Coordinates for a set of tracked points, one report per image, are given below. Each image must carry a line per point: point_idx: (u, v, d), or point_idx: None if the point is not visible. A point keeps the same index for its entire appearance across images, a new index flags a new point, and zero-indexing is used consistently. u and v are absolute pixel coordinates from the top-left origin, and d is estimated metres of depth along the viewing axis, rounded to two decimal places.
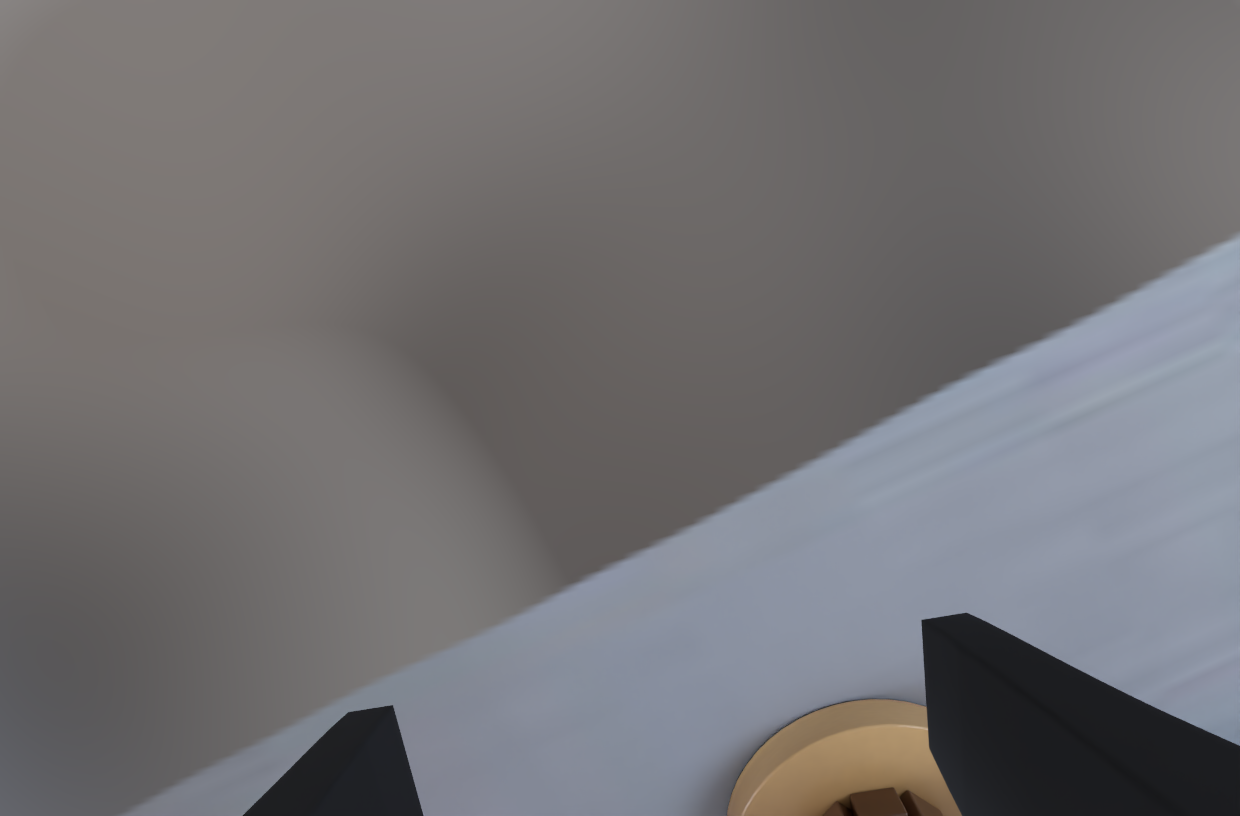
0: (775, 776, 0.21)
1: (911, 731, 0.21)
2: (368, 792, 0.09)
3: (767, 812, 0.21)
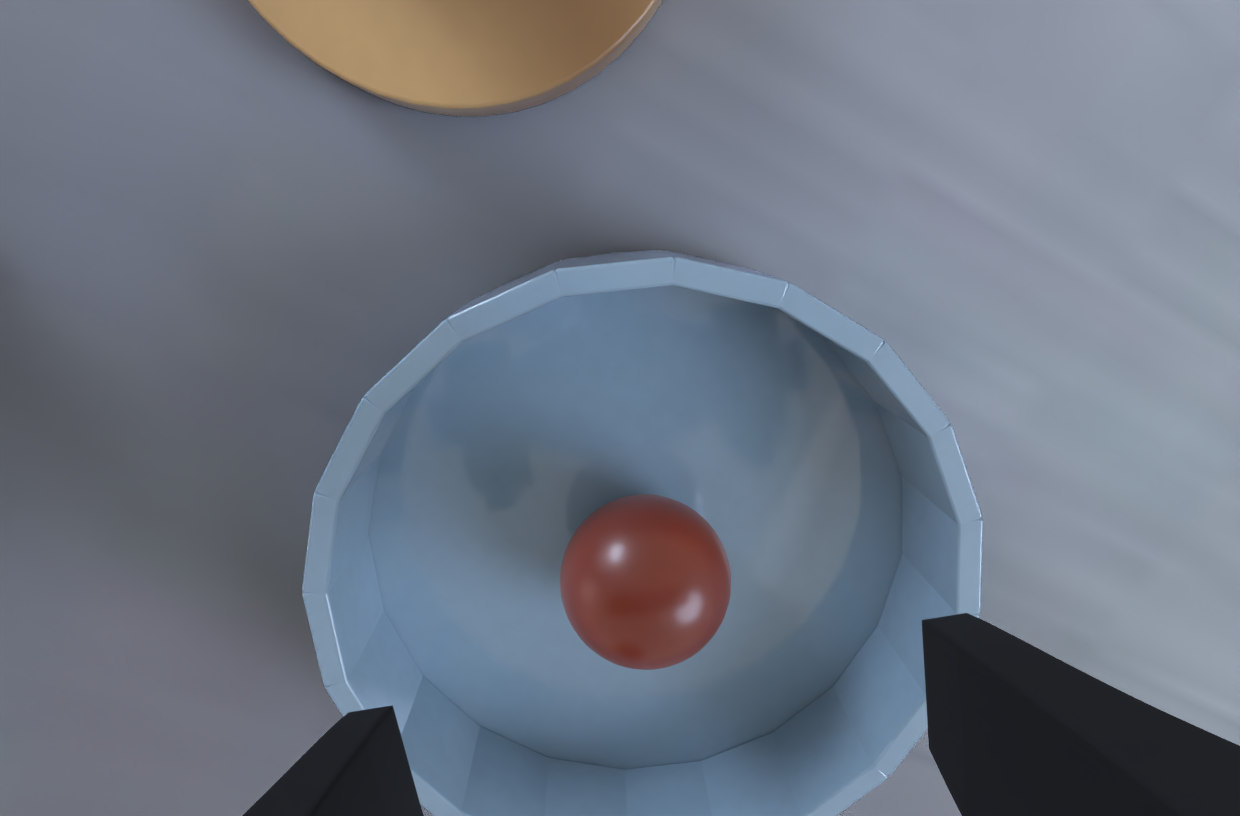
0: None
1: None
2: (368, 791, 0.09)
3: None
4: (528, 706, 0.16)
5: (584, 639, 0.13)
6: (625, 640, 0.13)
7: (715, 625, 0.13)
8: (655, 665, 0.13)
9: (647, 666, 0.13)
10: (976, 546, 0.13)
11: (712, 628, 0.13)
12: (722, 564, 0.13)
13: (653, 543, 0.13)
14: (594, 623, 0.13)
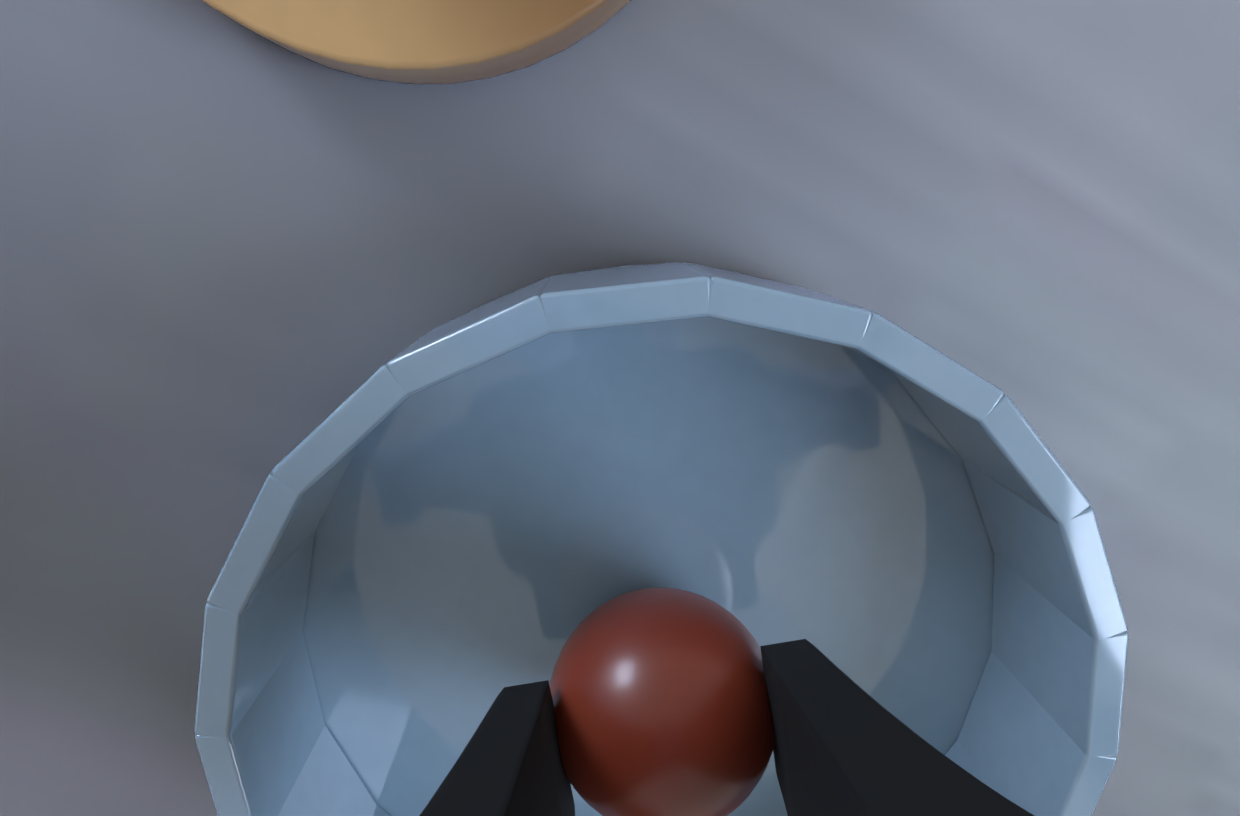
0: None
1: None
2: (544, 763, 0.09)
3: None
4: None
5: (580, 794, 0.10)
6: (637, 807, 0.09)
7: (759, 777, 0.10)
8: None
9: None
10: (1118, 669, 0.10)
11: (754, 782, 0.10)
12: (767, 692, 0.10)
13: (675, 672, 0.09)
14: (593, 780, 0.09)
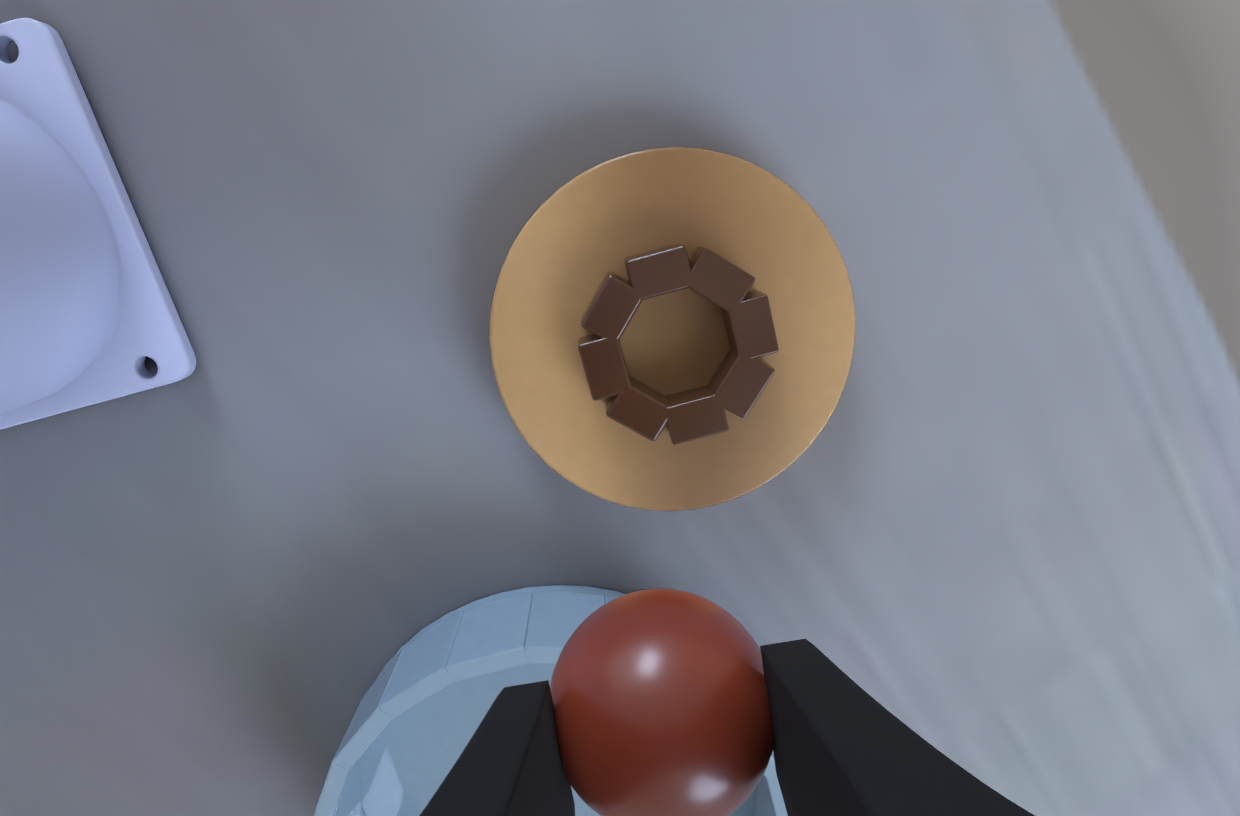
0: (781, 187, 0.16)
1: (847, 349, 0.17)
2: (544, 764, 0.09)
3: (724, 185, 0.16)
4: None
5: (580, 796, 0.10)
6: (637, 808, 0.09)
7: (759, 778, 0.10)
8: None
9: None
10: None
11: (755, 783, 0.10)
12: None
13: (676, 673, 0.09)
14: (594, 782, 0.09)
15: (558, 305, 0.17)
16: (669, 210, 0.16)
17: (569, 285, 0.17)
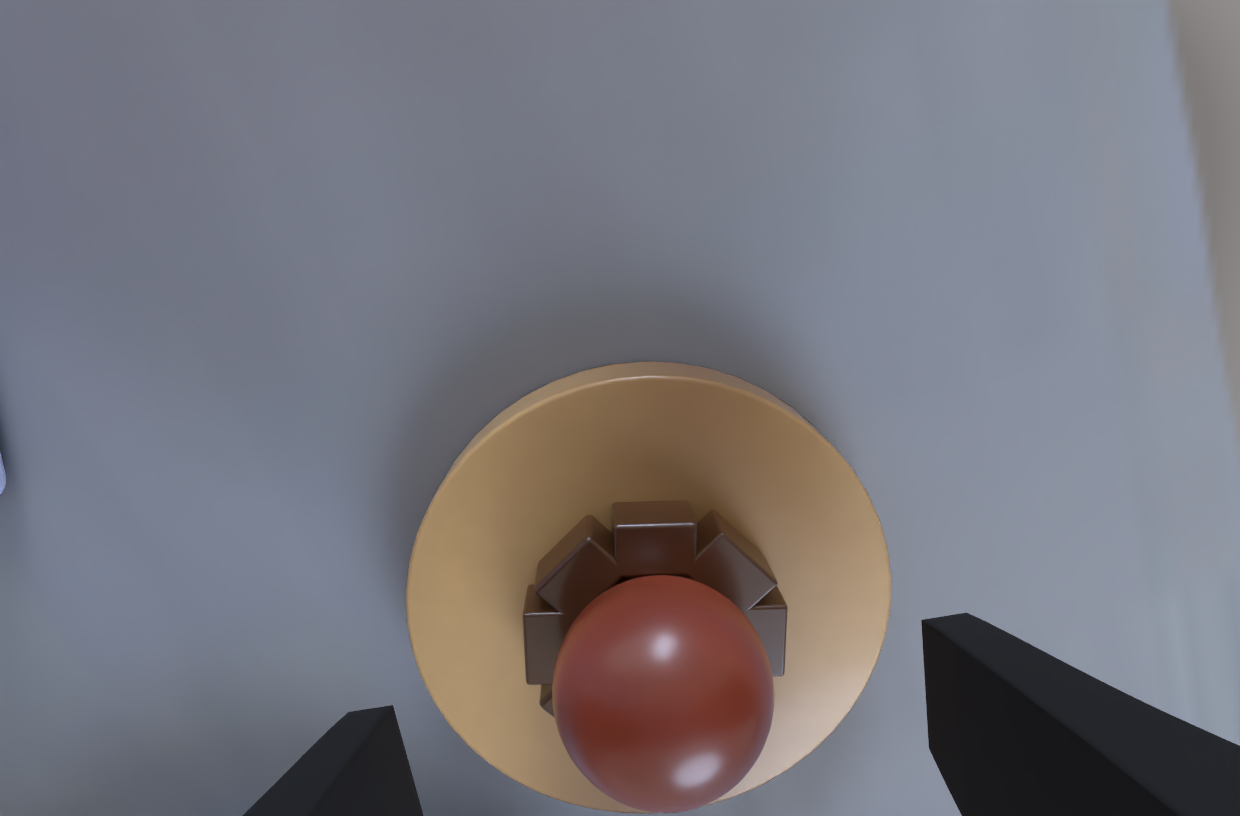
0: (836, 462, 0.12)
1: (865, 668, 0.13)
2: (368, 792, 0.09)
3: (765, 443, 0.12)
4: None
5: (584, 773, 0.10)
6: (638, 782, 0.09)
7: (756, 755, 0.10)
8: (678, 810, 0.10)
9: (667, 811, 0.10)
10: None
11: (752, 760, 0.10)
12: (764, 673, 0.10)
13: (676, 653, 0.10)
14: (598, 757, 0.10)
15: (511, 539, 0.12)
16: (685, 457, 0.12)
17: (532, 518, 0.12)
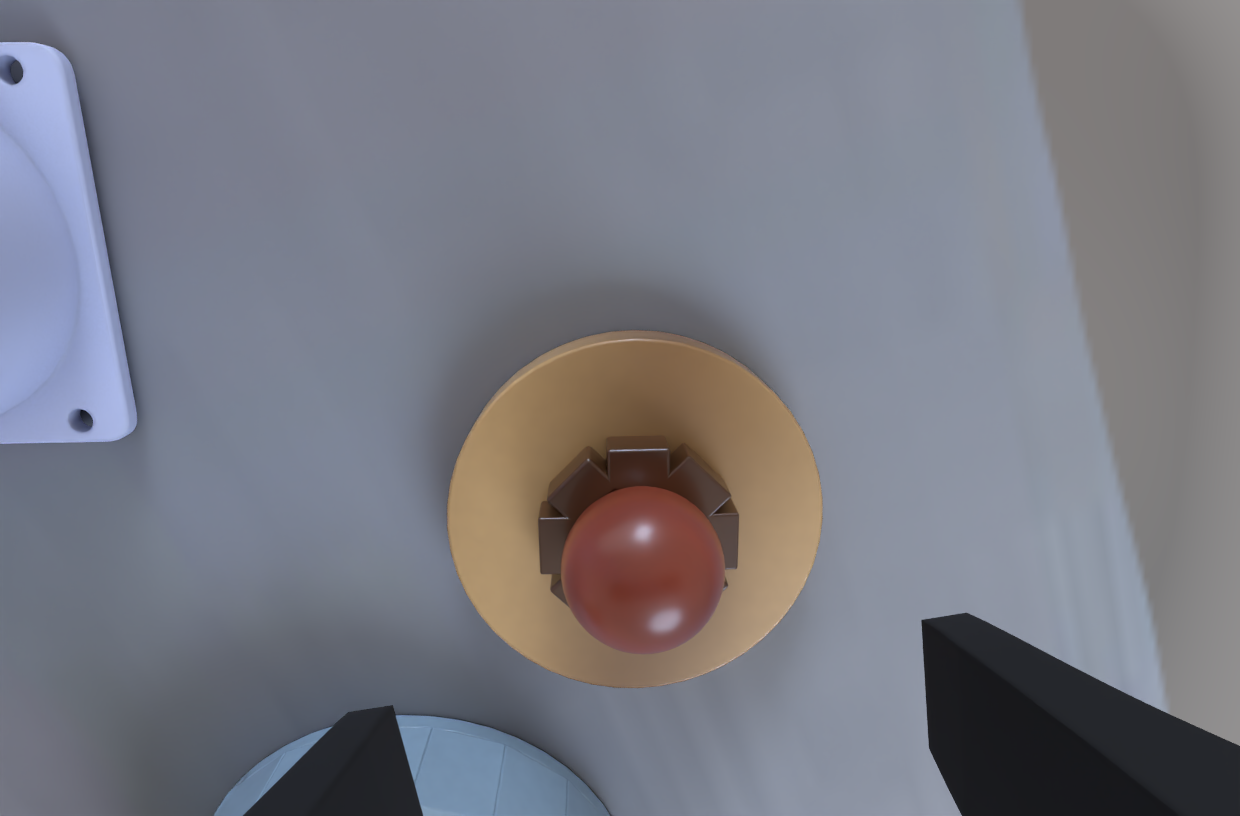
0: (778, 406, 0.16)
1: (803, 571, 0.17)
2: (368, 792, 0.09)
3: (723, 392, 0.16)
4: None
5: (584, 624, 0.14)
6: (623, 624, 0.13)
7: (710, 610, 0.14)
8: (652, 649, 0.14)
9: (644, 650, 0.14)
10: None
11: (707, 613, 0.14)
12: (716, 551, 0.14)
13: (651, 531, 0.13)
14: (594, 607, 0.13)
15: (529, 465, 0.16)
16: (662, 402, 0.16)
17: (545, 449, 0.16)
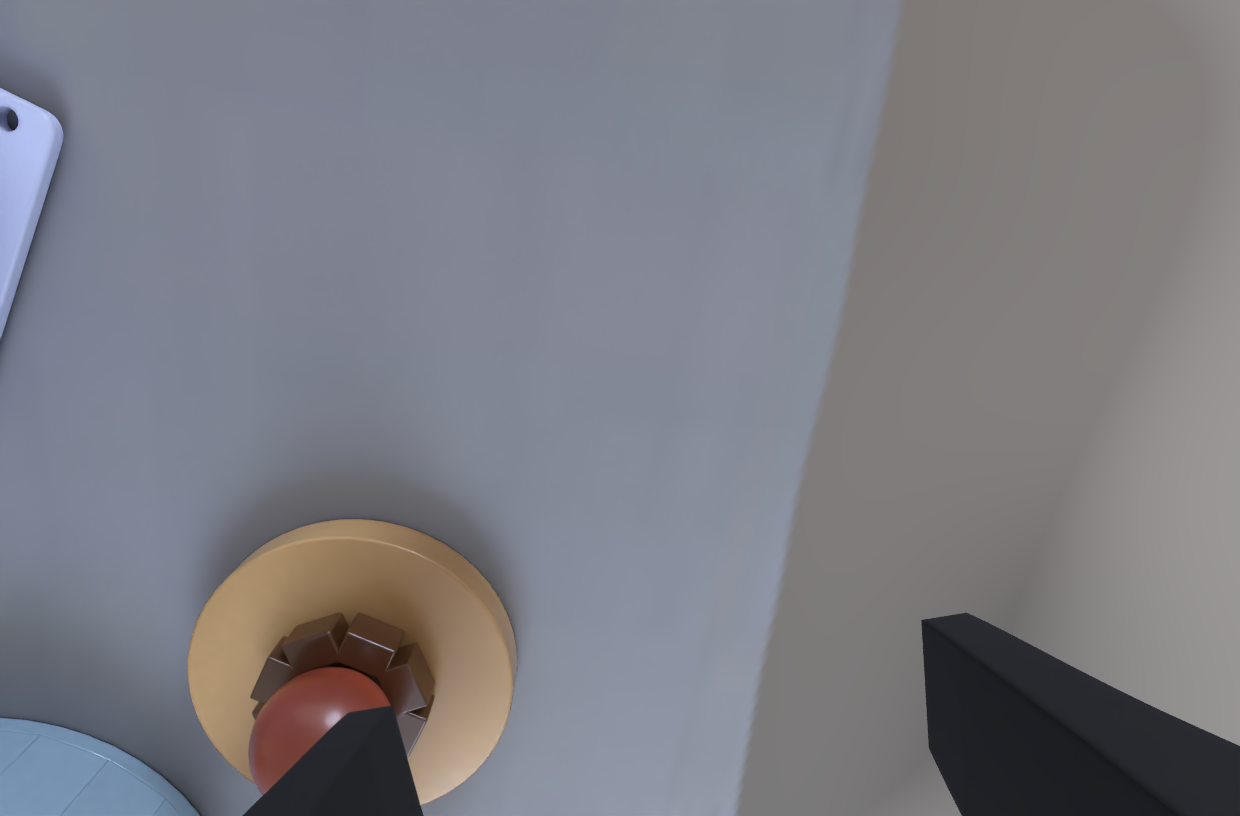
0: (501, 648, 0.19)
1: (466, 772, 0.20)
2: (368, 792, 0.09)
3: (464, 619, 0.19)
4: None
5: (250, 770, 0.17)
6: None
7: None
8: None
9: None
10: None
11: None
12: None
13: None
14: (260, 767, 0.16)
15: (286, 605, 0.19)
16: (414, 606, 0.19)
17: (305, 599, 0.19)
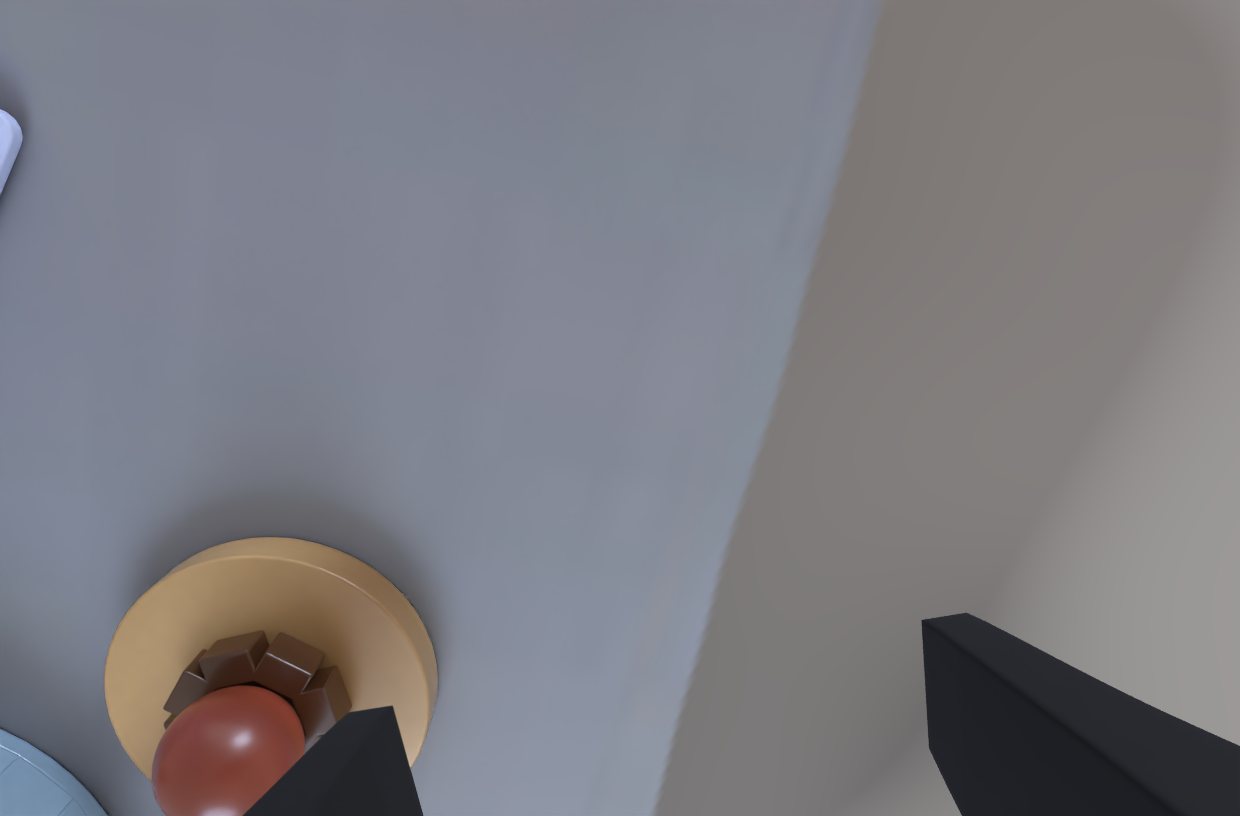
0: (420, 678, 0.20)
1: None
2: (368, 792, 0.09)
3: (386, 647, 0.19)
4: None
5: (152, 785, 0.17)
6: (174, 809, 0.16)
7: None
8: None
9: None
10: None
11: None
12: None
13: (238, 751, 0.16)
14: (161, 784, 0.16)
15: (209, 618, 0.19)
16: (337, 630, 0.19)
17: (229, 614, 0.19)
